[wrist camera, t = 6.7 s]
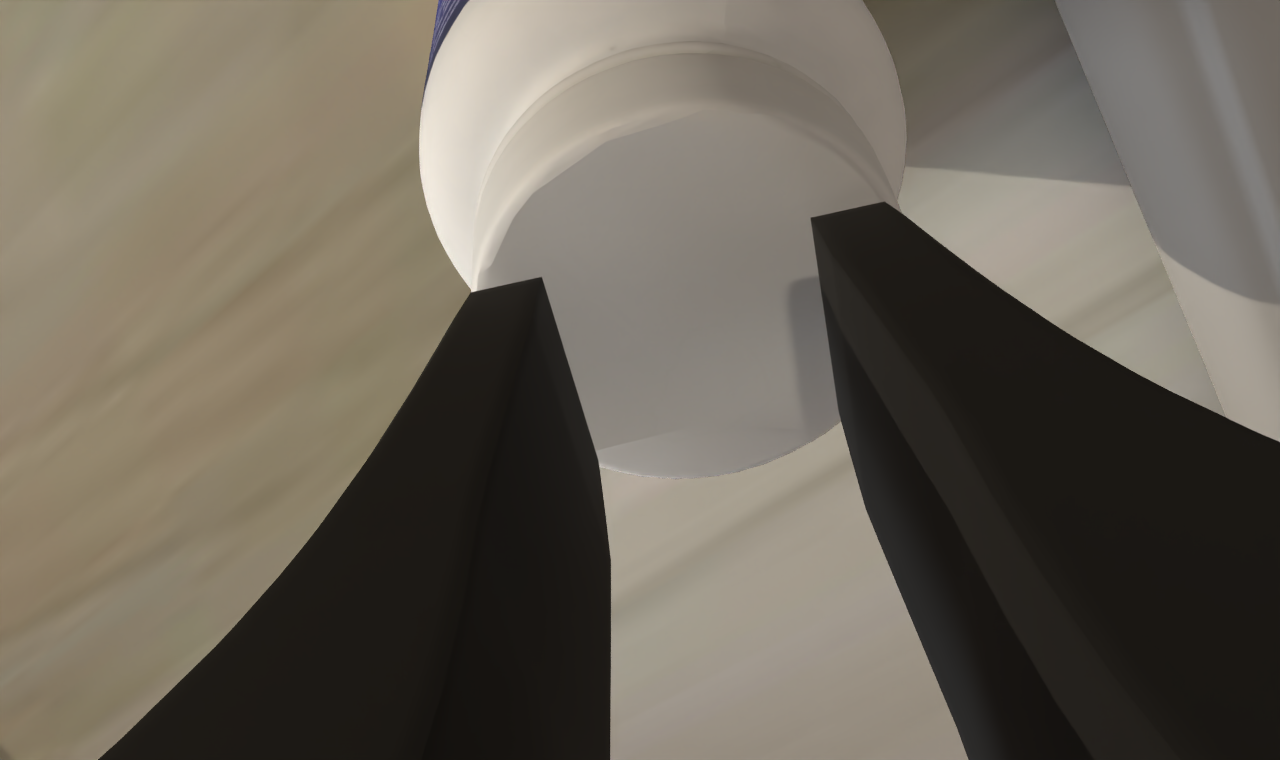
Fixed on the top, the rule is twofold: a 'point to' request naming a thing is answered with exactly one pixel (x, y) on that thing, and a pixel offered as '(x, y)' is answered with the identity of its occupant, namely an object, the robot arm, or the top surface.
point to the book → (1202, 168)
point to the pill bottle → (665, 201)
